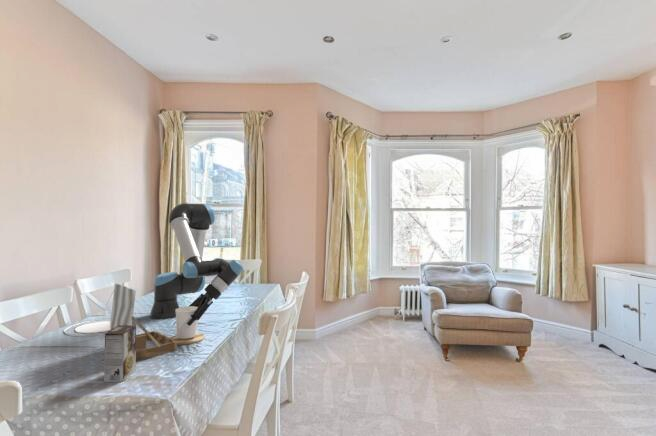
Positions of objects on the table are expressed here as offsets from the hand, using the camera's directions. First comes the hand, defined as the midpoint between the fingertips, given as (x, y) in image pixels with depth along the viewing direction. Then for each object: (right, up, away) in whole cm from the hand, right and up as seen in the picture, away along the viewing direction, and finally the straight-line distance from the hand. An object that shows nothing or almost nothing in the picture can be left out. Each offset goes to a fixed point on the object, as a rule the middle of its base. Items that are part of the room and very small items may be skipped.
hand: (179, 327), depth 154 cm
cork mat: (+3, -6, +2) cm, 7 cm away
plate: (-47, -6, +18) cm, 51 cm away
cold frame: (-10, -6, -11) cm, 16 cm away
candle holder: (+3, -4, +2) cm, 5 cm away
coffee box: (-5, -6, -36) cm, 37 cm away
